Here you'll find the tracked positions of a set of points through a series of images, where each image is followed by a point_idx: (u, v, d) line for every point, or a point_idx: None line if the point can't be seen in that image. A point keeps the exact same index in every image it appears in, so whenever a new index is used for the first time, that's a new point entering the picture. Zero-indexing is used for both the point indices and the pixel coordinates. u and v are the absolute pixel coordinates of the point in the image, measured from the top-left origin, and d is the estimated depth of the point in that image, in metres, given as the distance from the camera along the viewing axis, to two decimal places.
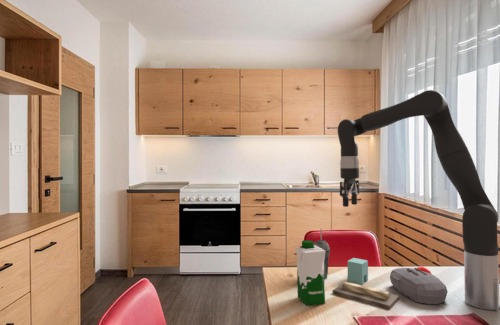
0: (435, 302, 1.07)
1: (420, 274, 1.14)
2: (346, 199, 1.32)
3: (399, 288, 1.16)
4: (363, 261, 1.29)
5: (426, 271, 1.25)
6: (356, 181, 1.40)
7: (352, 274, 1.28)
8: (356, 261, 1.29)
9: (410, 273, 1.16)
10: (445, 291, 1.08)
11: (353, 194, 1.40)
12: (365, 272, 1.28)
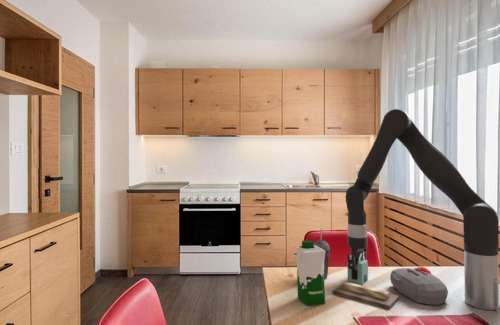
0: (436, 302, 1.06)
1: (420, 274, 1.14)
2: (355, 272, 1.26)
3: (399, 288, 1.15)
4: (363, 261, 1.29)
5: (426, 271, 1.25)
6: (364, 249, 1.33)
7: None
8: (356, 261, 1.29)
9: (410, 273, 1.15)
10: (446, 291, 1.08)
11: None
12: (365, 272, 1.28)
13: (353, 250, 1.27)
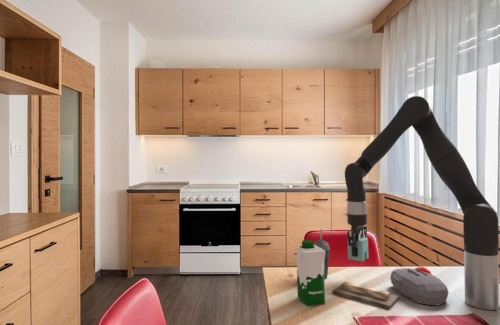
0: (436, 303, 1.06)
1: (421, 275, 1.14)
2: (355, 249, 1.26)
3: (400, 289, 1.15)
4: (363, 238, 1.28)
5: (426, 271, 1.25)
6: (364, 227, 1.33)
7: None
8: (356, 238, 1.29)
9: (411, 274, 1.15)
10: (446, 292, 1.08)
11: None
12: (365, 249, 1.28)
13: (353, 227, 1.27)
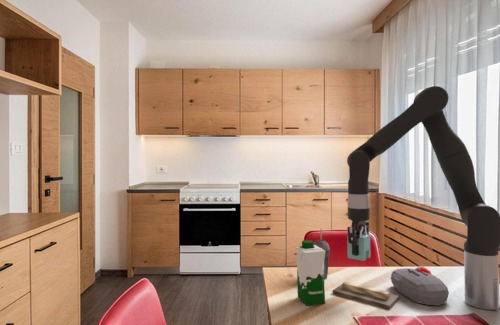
0: (436, 303, 1.06)
1: (421, 275, 1.13)
2: (356, 247, 1.12)
3: (400, 289, 1.15)
4: (365, 235, 1.15)
5: (426, 271, 1.25)
6: (366, 223, 1.20)
7: None
8: (357, 235, 1.15)
9: (411, 274, 1.15)
10: (446, 292, 1.07)
11: None
12: (367, 247, 1.14)
13: (354, 223, 1.13)
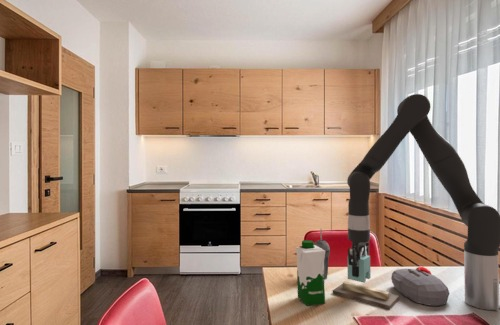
0: (436, 303, 1.06)
1: (421, 275, 1.13)
2: (356, 268, 1.12)
3: (400, 289, 1.15)
4: (365, 256, 1.15)
5: (426, 271, 1.25)
6: (366, 243, 1.20)
7: None
8: (357, 256, 1.15)
9: (411, 274, 1.15)
10: (447, 292, 1.07)
11: None
12: (367, 269, 1.14)
13: (354, 244, 1.13)
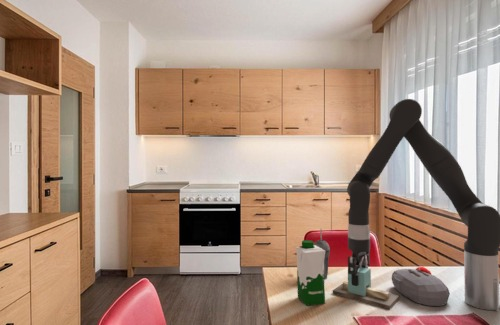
0: (437, 304, 1.05)
1: (422, 275, 1.13)
2: (355, 277, 1.12)
3: (400, 289, 1.15)
4: (365, 270, 1.15)
5: (426, 271, 1.25)
6: (366, 251, 1.20)
7: None
8: None
9: (412, 274, 1.14)
10: (447, 293, 1.07)
11: None
12: (367, 282, 1.14)
13: (354, 253, 1.13)
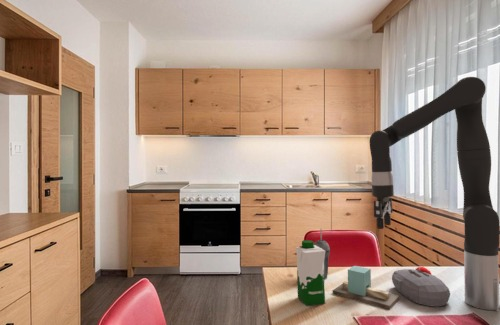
0: (437, 304, 1.05)
1: (422, 276, 1.13)
2: (381, 220, 1.17)
3: (401, 290, 1.14)
4: (365, 270, 1.15)
5: (426, 271, 1.25)
6: (389, 199, 1.26)
7: (353, 284, 1.14)
8: (357, 270, 1.15)
9: (412, 275, 1.14)
10: (448, 293, 1.06)
11: (386, 213, 1.25)
12: (367, 282, 1.14)
13: (379, 199, 1.19)
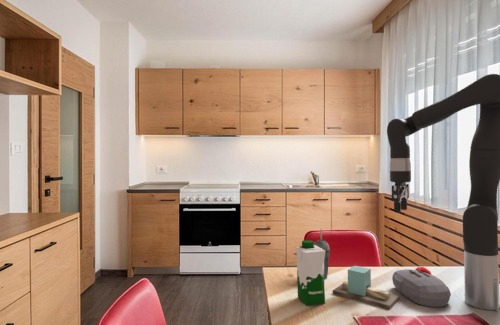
0: (438, 305, 1.05)
1: (423, 276, 1.12)
2: (398, 204, 1.23)
3: (401, 290, 1.14)
4: (365, 270, 1.15)
5: (426, 271, 1.25)
6: (406, 185, 1.31)
7: (353, 284, 1.14)
8: (357, 270, 1.15)
9: (412, 275, 1.14)
10: (448, 293, 1.06)
11: (403, 199, 1.30)
12: (367, 282, 1.14)
13: (397, 184, 1.24)
